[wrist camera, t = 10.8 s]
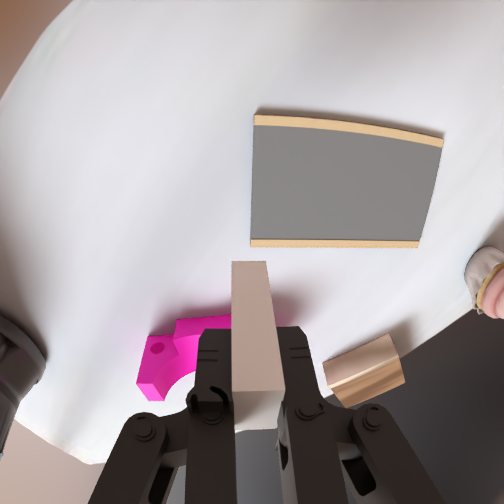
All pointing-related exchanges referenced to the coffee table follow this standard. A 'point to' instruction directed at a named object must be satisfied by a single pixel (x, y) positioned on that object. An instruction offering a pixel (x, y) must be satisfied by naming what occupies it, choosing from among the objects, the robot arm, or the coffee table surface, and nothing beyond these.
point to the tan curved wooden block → (364, 371)
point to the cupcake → (486, 281)
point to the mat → (339, 183)
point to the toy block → (173, 355)
